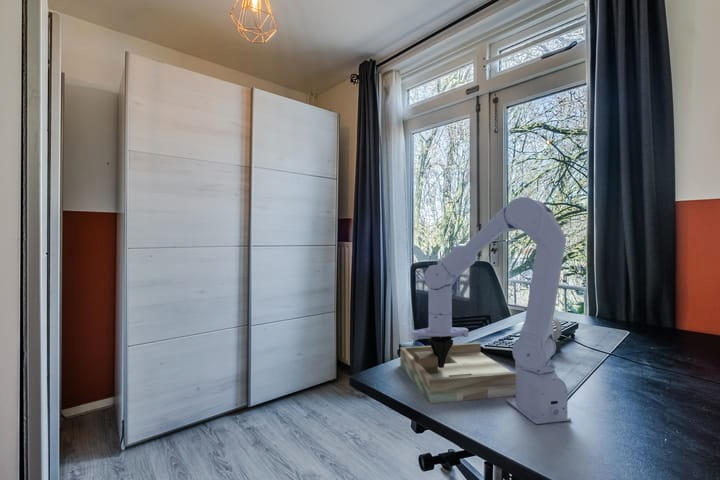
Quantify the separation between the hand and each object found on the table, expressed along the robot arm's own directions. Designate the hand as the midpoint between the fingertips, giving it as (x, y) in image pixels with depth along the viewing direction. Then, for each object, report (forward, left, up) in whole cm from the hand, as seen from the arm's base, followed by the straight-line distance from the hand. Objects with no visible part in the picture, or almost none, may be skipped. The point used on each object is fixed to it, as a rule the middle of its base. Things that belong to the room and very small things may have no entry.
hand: (440, 366), depth 84 cm
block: (0, +4, -1) cm, 4 cm away
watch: (+15, -43, -4) cm, 46 cm away
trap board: (0, -5, -3) cm, 6 cm away
